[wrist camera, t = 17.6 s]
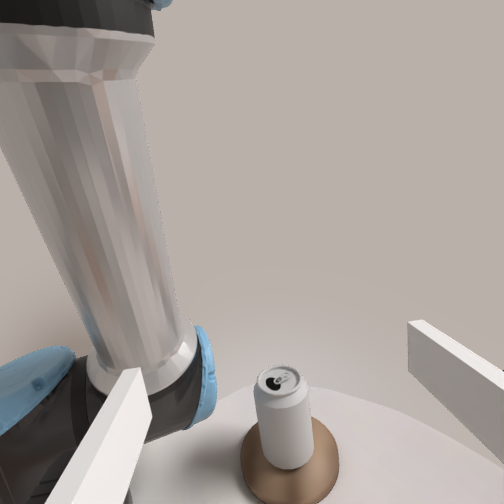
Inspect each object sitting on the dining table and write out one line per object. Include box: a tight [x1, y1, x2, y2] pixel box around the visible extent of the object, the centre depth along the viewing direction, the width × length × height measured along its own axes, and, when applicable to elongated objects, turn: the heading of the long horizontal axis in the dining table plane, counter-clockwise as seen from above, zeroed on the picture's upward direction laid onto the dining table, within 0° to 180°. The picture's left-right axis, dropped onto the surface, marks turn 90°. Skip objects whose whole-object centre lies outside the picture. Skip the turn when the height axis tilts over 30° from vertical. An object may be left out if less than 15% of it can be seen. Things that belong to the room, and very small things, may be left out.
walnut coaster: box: [241, 417, 339, 504], centre depth 41 cm, size 14×14×2 cm
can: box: [254, 365, 314, 469], centre depth 40 cm, size 8×8×12 cm
